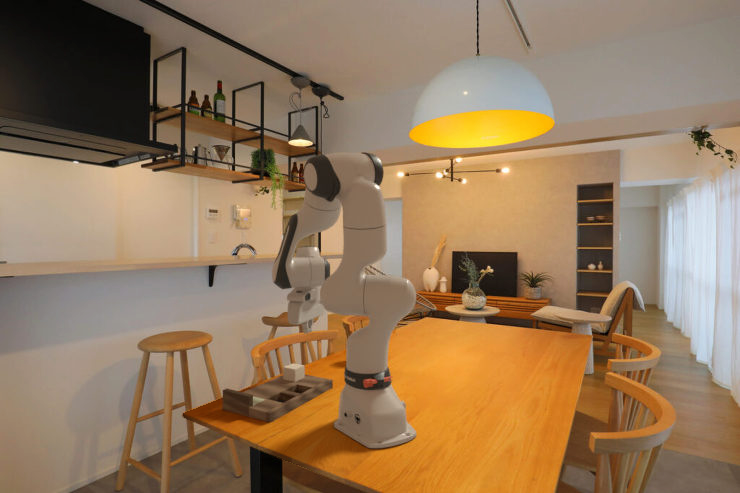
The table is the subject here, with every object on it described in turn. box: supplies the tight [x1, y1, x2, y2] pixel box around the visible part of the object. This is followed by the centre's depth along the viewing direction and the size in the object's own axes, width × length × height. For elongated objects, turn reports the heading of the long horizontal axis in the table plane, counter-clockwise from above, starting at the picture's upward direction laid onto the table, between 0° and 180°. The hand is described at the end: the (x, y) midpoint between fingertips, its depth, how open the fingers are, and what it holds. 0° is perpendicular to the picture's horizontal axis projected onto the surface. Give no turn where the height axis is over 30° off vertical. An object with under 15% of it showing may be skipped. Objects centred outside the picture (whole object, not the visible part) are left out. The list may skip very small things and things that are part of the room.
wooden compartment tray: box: [222, 374, 334, 423], centre depth 126 cm, size 30×18×6 cm, turn 152°
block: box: [282, 363, 306, 382], centre depth 136 cm, size 5×5×4 cm
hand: (307, 332), depth 143 cm, fingers closed
